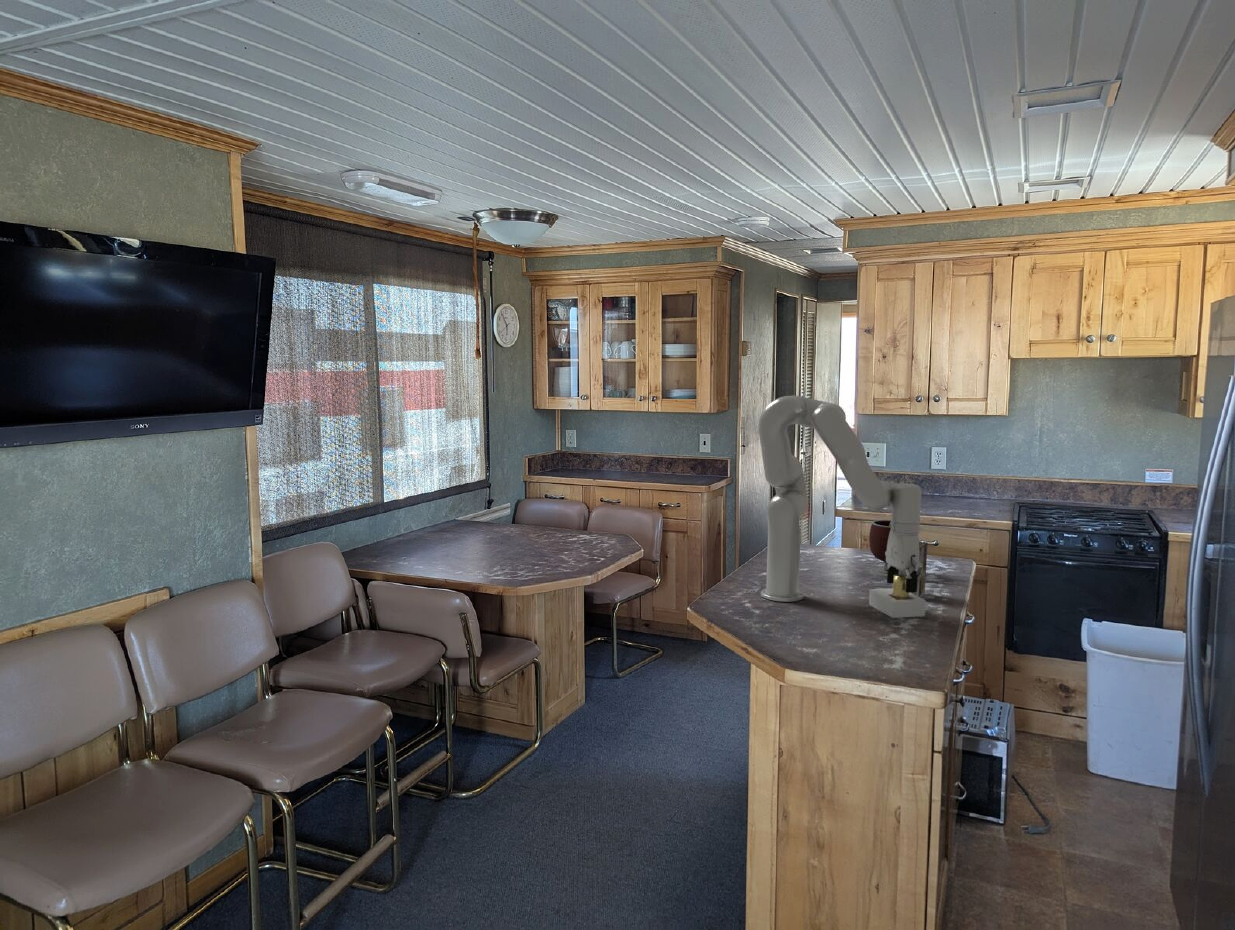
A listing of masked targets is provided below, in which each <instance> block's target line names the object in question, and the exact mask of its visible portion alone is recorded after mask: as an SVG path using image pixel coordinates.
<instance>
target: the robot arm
mask: <svg viewBox="0 0 1235 930" xmlns="http://www.w3.org/2000/svg"><path fill="white" fill-rule="evenodd" d="M846 416H847V415H846V412H845V411H844V409H843V408H842V407H841V406H840V405H838V404H837V403H833V402H828V401H827V402H826V401H823V400H818V399H813V398H810V397H805V396H801V395H786V396H785V395H783V396H781V397H778V398H776V399H774V400H773V401H771V402H770V403H769V404H768V405H767V406H766V407H765V408H764V409H763V410H762V412H761V414H760V416H759V420H758V436H759V442H760V448H761V458H762V463H763V468H764V469H763V470H764V471H763V472H764V476H765V477H764V478H765V481H767V483H768V485H770V486H771V487H772V488H774V490H775V495H773V497H772V498H771V499H770V500H769V502H768V506H767V510H766V516H767V517H766V519H767V554H766V555H767V556H766V560H767V561H766V580H765V582H766V585H765V588H763V589H761V590H760V596H761V597H762V598H763V599H765V600H770V601H775V602H783V603H788V602H789V603H790V602H791V603H792V602H793V603H794V602H798V601H801V600H803V599H804V593H803V591H801V590H799V582H800V581H799V580H800V560H801V559H800V558H801V518H802V517H803V516H804V515H805V513H806V512H807V511H808V507H809V498H808V492H807V485H806V479H805V474H804V468H803V465H802V463H801V461H800V459H798V458H797V456H795V455H794V454H792V450H791V442H790V437H789V434H788V427H789V426H791V425H800V426H804V427H808V428H812V429H814V430H815V432H816V433H817V434H818V436H819V438H820V439H821V440H822V442H823V443H824V445H825V446H826V448H827V449H828V450H829V452H830V453H831V455H832V457H833V458H834V459H835V460H836V463H837V464H838V465H837V466H838V467H839V469H840V471H841V472H842V474H843V477H845V480H846V481H847V483H848V485H849V486H850V488H851V490H852V491H853V492H854V494H855V496H856V497H857V498H858V500H859V501H860V502H861V504H862V505H863V506H864V507H865V508H866V509H867V510H871V511H874V512H878V511H881V510H884V509H885V508H886V507H891V519H890V520H891V530H890V533H889V537H888V543H887V551H886V552H885V555H886V563H887V569H888V571H887V578H886V583H887V584H893V576H894V574H898V571H899V569H900V570H905V571H906V574H907V576H908V578H906V590H905V591H906V592H907V593H910V592H917V581H918V578H919V575H920V573H921V570H922V565H921V563H920V562H919V542H920V540H919V539H920V538H919V537H920V536H919V535H920V523H921V522H920V520H921V504H922V488H921V487H920V486H919V485H917V484H914V483H908V482H907V483H905V482H904V483H896V482H891V481H886V480H881V479H880V480H879V478H878V476H876V474H875V472H874V471H873V469H872V468H871V465H870V463H869V462H868V459H867V456H866V455H867V454H866V451H865V447H864V445H863V443H862V441H860V438H858V436H857V435H856V434H855V432H854V431H853V429H852V428H851V426H850V424H849V423H848V421H847V417H846ZM910 571H913V572H912V573H910Z"/></svg>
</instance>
